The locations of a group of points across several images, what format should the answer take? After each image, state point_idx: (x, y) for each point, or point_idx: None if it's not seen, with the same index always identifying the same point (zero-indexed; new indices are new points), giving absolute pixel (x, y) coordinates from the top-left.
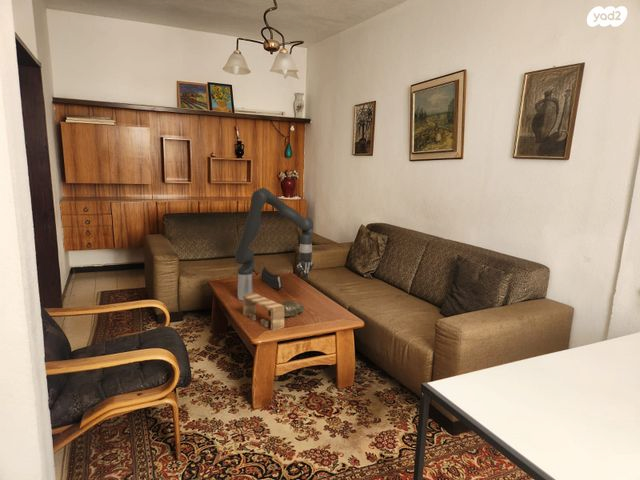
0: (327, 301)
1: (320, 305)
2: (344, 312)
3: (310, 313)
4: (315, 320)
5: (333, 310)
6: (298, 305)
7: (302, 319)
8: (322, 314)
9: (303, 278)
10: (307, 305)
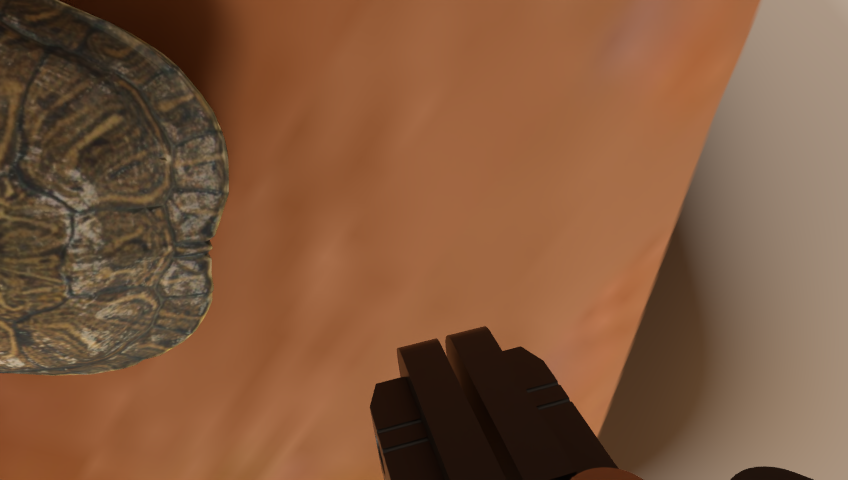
0: (725, 26)
1: (560, 108)
2: (605, 384)
3: (292, 282)
4: (235, 457)
5: (563, 305)
6: (106, 323)
7: (107, 397)
8: (396, 354)
9: (398, 362)
10: (420, 15)
